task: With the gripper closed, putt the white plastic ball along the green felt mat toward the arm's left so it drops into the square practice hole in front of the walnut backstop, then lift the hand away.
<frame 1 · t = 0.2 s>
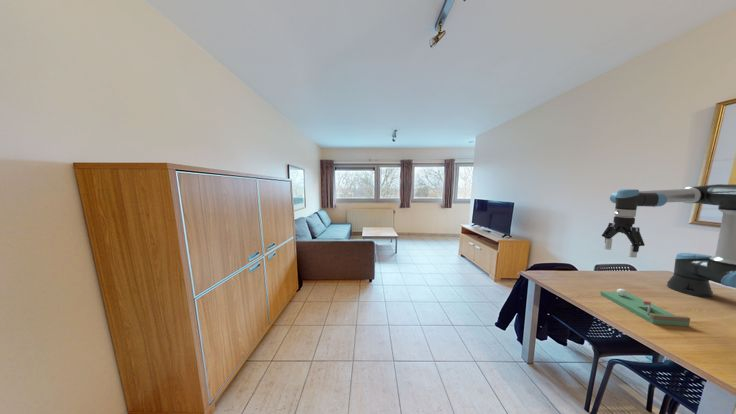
hand: (619, 253, 118), 26 cm above the table, fingers open, 13 cm apart
green: (639, 308, 109), on the table
ball: (622, 292, 117), point 4 cm above the table, touching green
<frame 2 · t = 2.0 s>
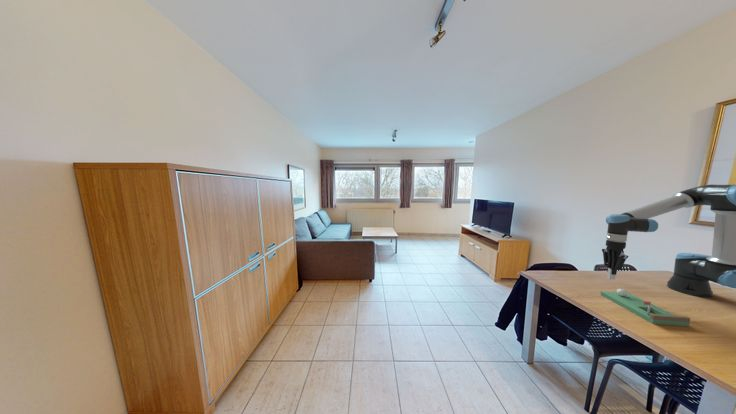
hand: (610, 278, 123), 9 cm above the table, fingers closed
nothing on the table moved.
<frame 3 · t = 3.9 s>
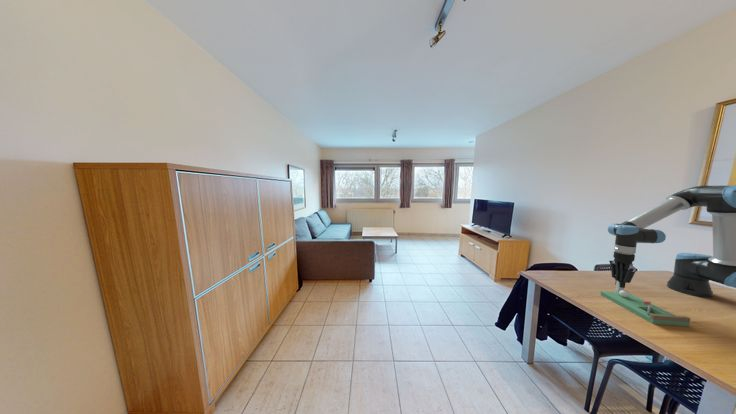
hand: (619, 291, 119), 4 cm above the table, fingers closed
ball: (624, 293, 116), point 4 cm above the table, tilted 36°, touching green, gripper
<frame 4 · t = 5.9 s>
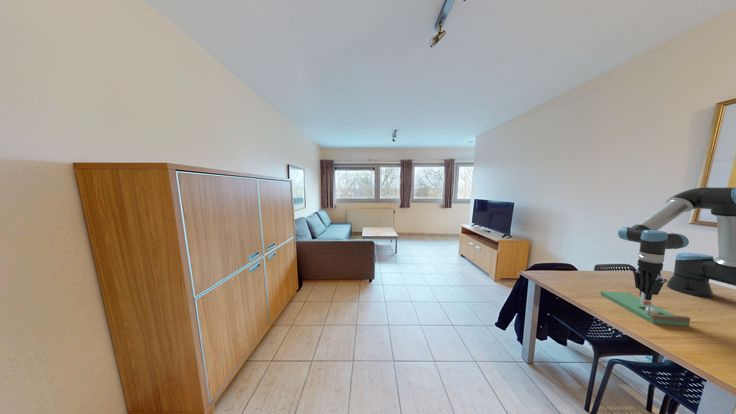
hand: (644, 304, 106), 3 cm above the table, fingers closed
ball: (651, 311, 103), point 2 cm above the table, tilted 39°
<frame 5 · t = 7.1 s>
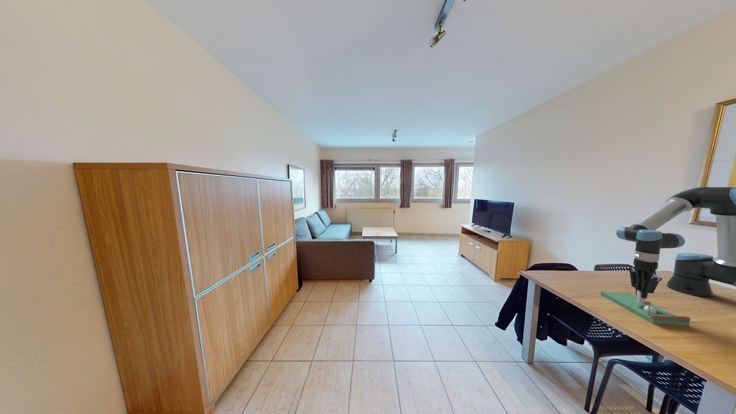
hand: (640, 302, 109), 3 cm above the table, fingers closed
ball: (650, 310, 104), point 2 cm above the table, tilted 16°
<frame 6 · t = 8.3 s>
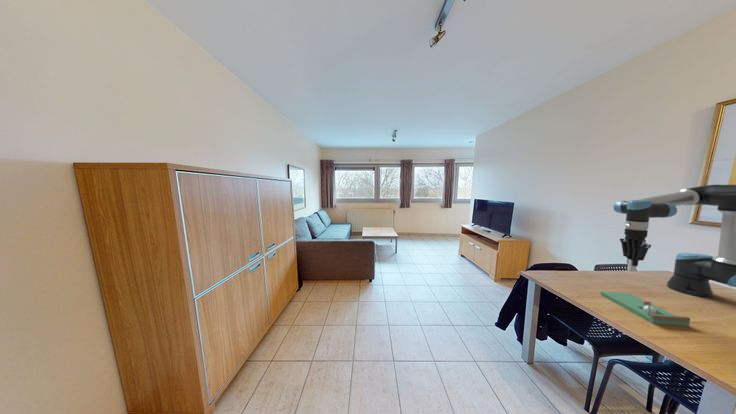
hand: (631, 270, 113), 18 cm above the table, fingers closed
ball: (649, 310, 104), point 2 cm above the table, tilted 11°
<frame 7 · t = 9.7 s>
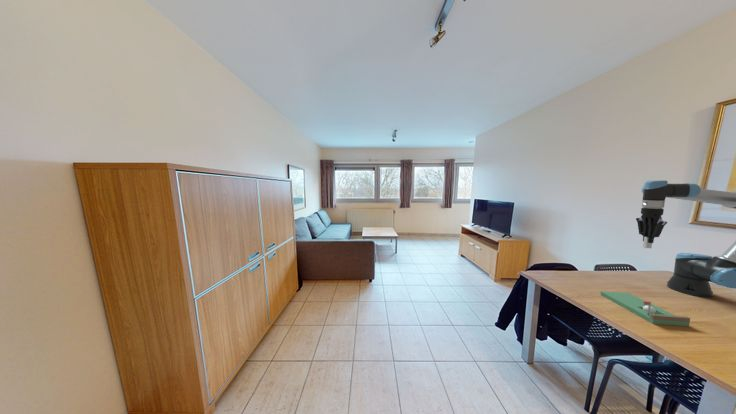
hand: (647, 247, 120), 28 cm above the table, fingers closed
ball: (649, 309, 104), point 2 cm above the table
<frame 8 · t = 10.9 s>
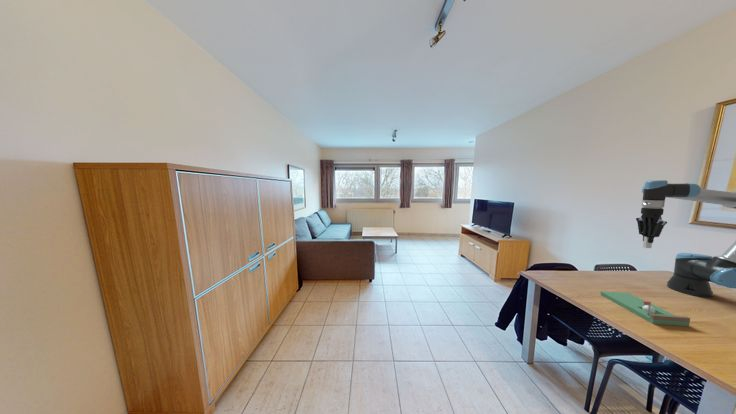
hand: (647, 247, 120), 28 cm above the table, fingers closed
nothing on the table moved.
at the end: ball 0.8 cm from the target spot in the green, point 2.0 cm above the green's base; ball touching table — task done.
